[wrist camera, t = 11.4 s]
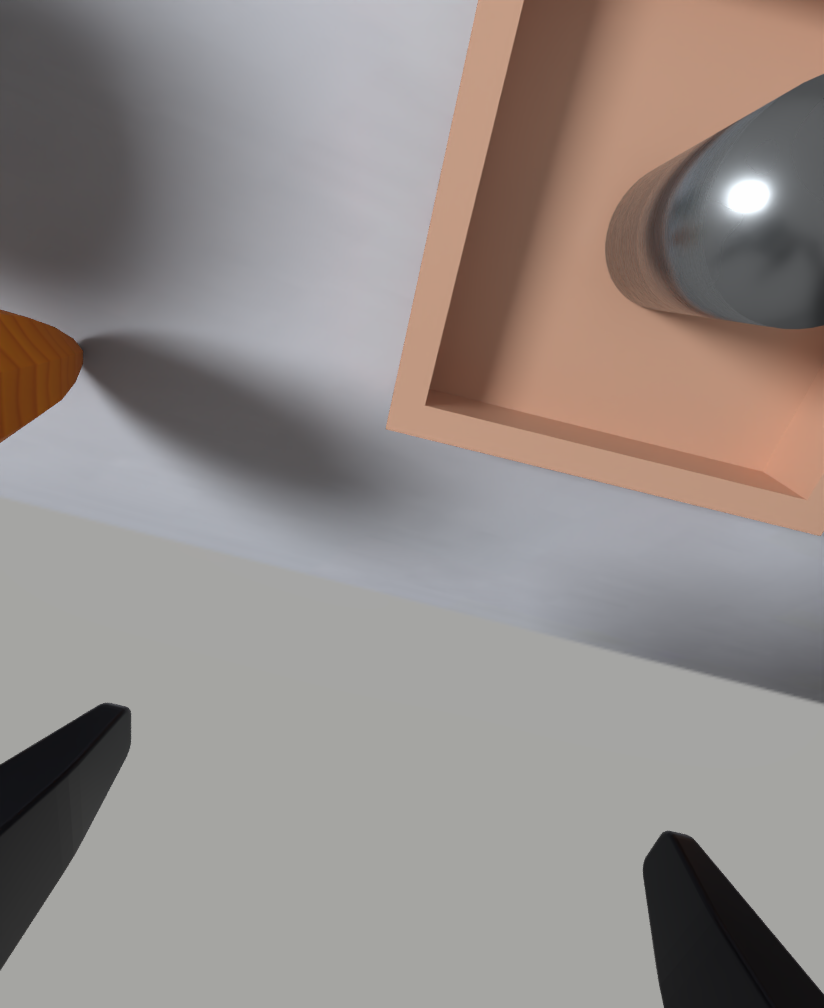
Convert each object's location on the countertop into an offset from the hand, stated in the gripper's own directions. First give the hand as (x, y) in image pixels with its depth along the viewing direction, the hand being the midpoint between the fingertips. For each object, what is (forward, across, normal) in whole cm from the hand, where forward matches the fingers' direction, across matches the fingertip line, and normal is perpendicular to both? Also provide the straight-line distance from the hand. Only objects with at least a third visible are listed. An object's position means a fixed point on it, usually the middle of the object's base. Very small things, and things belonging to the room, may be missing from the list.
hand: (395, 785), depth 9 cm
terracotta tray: (+13, -5, -10) cm, 17 cm away
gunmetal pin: (+12, -5, -10) cm, 16 cm away
